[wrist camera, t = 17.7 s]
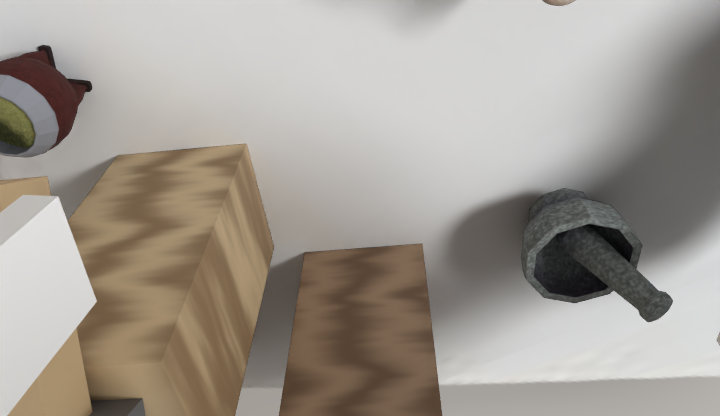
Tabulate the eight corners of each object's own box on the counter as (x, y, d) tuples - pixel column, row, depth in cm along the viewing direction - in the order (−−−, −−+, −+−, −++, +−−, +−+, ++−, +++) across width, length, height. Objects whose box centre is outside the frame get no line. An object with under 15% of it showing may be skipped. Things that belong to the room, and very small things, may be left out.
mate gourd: (89, 45, 44) (-22, 133, 31) (105, 132, 48) (14, 239, 36) (-7, 34, 43) (-156, 120, 31) (19, 123, 48) (-103, 228, 36)
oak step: (246, 143, 48) (160, 362, 29) (274, 247, 55) (219, 480, 36) (117, 155, 49) (-50, 375, 30) (160, 255, 56) (47, 487, 37)
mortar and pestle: (494, 242, 54) (520, 335, 45) (530, 164, 49) (569, 250, 39) (598, 262, 56) (646, 356, 46) (645, 187, 50) (711, 276, 41)
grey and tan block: (102, 169, 29) (26, 185, 23) (164, 522, 32) (112, 615, 26) (-40, 182, 29) (-151, 200, 23) (36, 527, 33) (-43, 618, 27)
